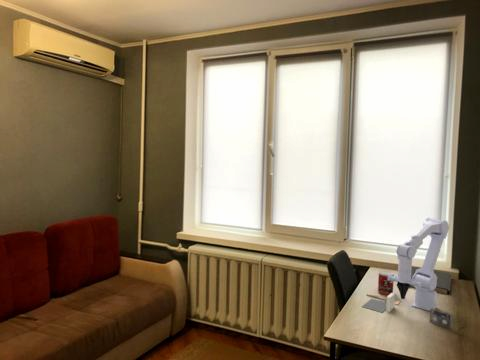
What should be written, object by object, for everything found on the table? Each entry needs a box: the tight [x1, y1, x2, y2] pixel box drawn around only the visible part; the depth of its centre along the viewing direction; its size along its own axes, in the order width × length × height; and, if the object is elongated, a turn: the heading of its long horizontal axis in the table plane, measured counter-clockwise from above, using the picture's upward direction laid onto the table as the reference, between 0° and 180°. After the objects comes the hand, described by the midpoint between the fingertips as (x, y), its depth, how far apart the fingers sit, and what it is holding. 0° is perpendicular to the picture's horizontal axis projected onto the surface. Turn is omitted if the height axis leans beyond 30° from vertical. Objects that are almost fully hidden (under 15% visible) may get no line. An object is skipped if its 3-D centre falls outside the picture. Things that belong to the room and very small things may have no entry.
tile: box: [385, 292, 396, 313], centre depth 179 cm, size 2×7×7 cm, turn 141°
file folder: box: [409, 266, 453, 295], centre depth 222 cm, size 33×4×24 cm
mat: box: [361, 298, 387, 314], centre depth 183 cm, size 10×14×1 cm
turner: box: [366, 293, 401, 306], centre depth 192 cm, size 16×5×1 cm, turn 51°
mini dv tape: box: [429, 309, 453, 329], centre depth 164 cm, size 8×2×6 cm, turn 41°
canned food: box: [377, 270, 395, 296], centre depth 201 cm, size 8×8×11 cm
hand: (402, 298), depth 175 cm, fingers closed
